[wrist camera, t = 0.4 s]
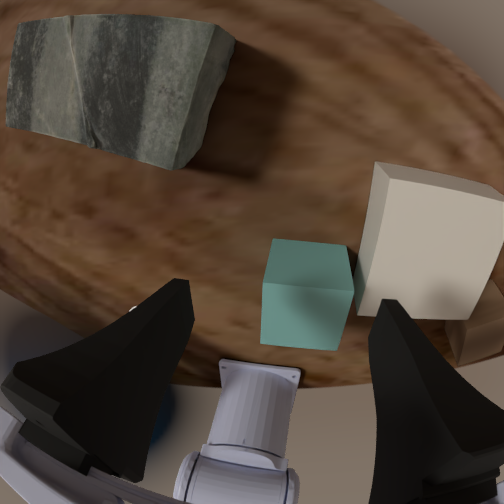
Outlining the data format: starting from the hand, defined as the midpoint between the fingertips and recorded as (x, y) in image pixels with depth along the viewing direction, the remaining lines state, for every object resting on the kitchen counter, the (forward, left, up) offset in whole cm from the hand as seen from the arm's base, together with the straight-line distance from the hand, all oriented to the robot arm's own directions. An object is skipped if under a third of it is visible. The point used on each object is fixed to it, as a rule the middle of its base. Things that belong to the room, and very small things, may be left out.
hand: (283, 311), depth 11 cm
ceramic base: (-1, -9, -10) cm, 13 cm away
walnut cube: (-7, -16, -10) cm, 20 cm away
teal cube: (-5, -1, -10) cm, 11 cm away
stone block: (+9, +12, -10) cm, 18 cm away
